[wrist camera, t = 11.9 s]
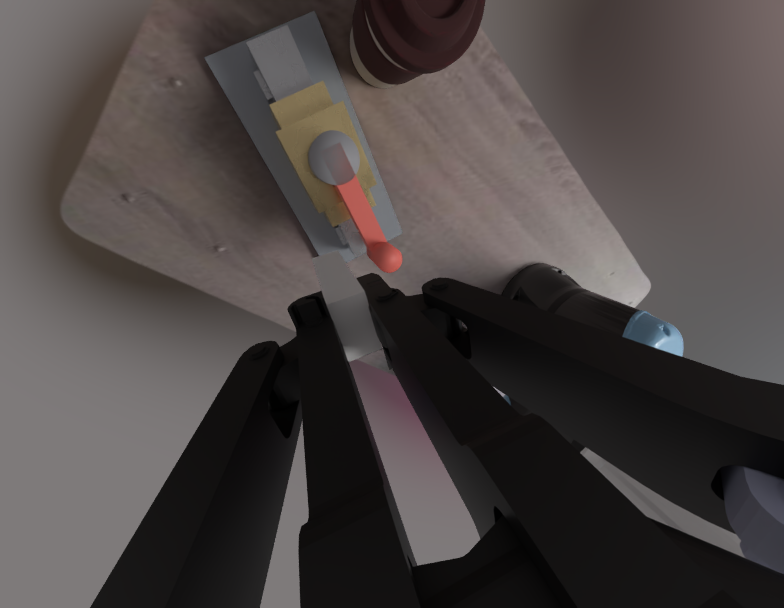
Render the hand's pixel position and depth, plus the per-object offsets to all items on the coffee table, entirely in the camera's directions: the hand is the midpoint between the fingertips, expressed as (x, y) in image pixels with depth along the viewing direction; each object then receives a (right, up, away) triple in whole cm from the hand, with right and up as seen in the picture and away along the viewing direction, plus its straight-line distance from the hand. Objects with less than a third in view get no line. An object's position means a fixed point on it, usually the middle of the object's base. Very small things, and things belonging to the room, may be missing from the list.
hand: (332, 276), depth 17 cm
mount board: (-5, +16, +19) cm, 25 cm away
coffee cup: (+2, +28, +17) cm, 32 cm away
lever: (-1, +9, +14) cm, 17 cm away
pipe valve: (-5, +16, +19) cm, 25 cm away
